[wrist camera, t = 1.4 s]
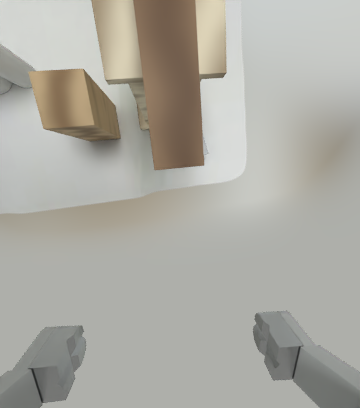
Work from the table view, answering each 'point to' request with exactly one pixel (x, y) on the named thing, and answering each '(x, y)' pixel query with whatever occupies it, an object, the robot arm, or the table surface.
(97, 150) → the table surface
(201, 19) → the birch stand
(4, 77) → the vase
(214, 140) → the table surface
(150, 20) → the walnut rail
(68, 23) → the table surface
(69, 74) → the oak post
